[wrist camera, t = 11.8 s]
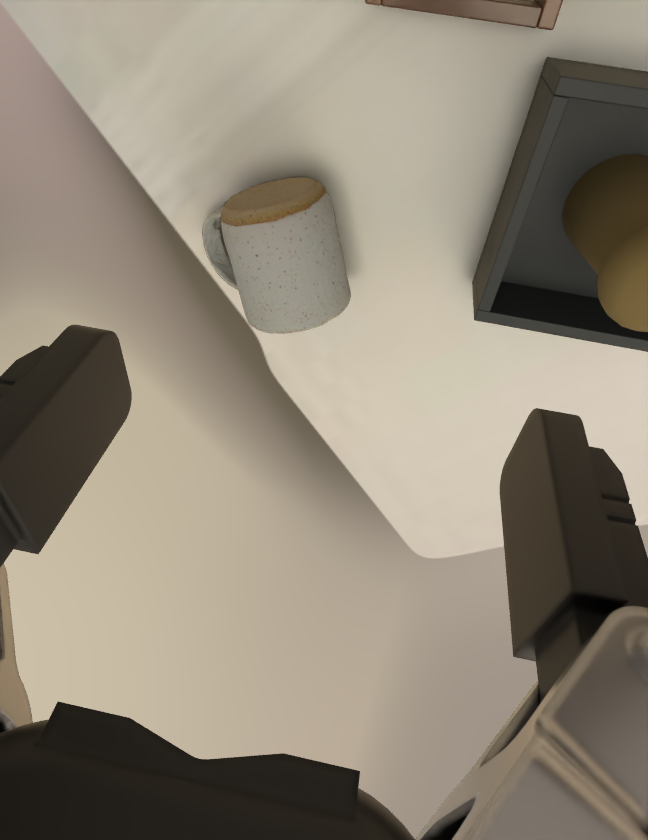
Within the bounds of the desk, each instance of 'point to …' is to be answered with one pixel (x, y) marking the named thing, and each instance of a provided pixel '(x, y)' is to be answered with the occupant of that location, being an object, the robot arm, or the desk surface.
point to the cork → (614, 234)
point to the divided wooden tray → (487, 10)
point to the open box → (559, 204)
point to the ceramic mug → (281, 254)
